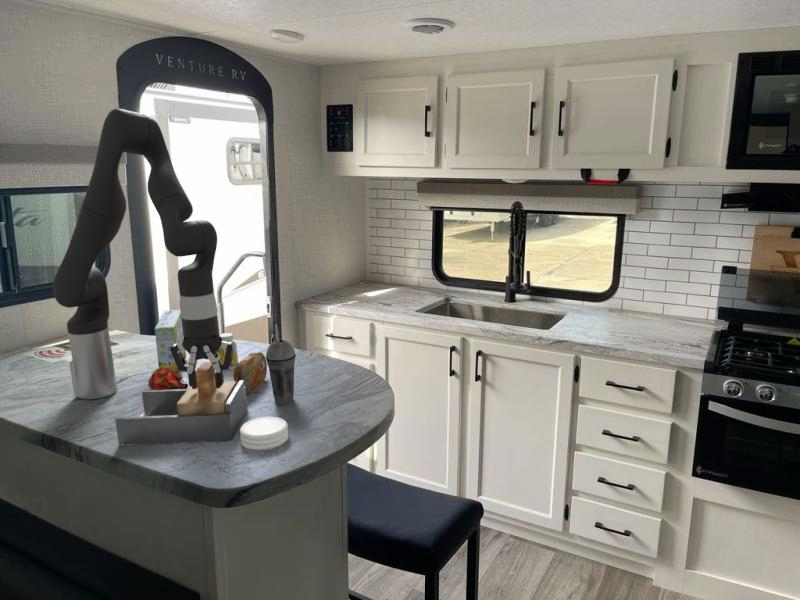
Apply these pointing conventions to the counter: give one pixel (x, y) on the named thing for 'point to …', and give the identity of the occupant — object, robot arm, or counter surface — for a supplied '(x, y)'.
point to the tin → (251, 371)
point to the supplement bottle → (228, 338)
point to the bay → (181, 420)
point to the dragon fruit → (166, 380)
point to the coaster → (264, 433)
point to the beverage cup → (281, 369)
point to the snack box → (168, 338)
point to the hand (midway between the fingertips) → (207, 387)
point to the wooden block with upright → (205, 394)
